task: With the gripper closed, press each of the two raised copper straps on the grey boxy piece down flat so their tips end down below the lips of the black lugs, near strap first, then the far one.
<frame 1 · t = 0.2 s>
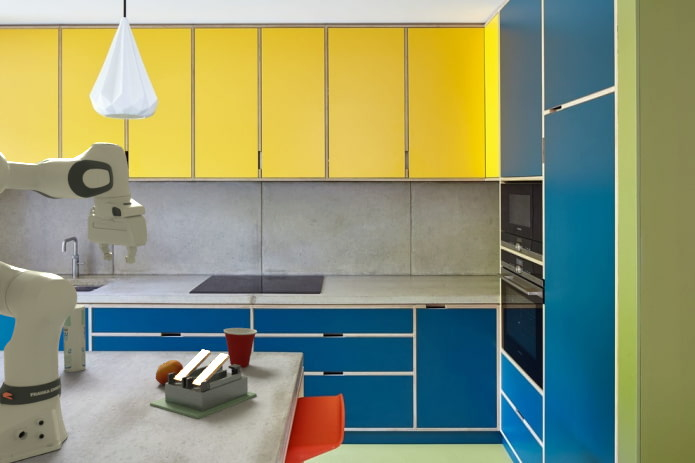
hand: (119, 261, 164), 39 cm above the kitchen island, tool pointing down, fingers open, 8 cm apart
fruit: (169, 384, 191), on the kitchen island
strap near: (211, 370, 172), point 9 cm above the kitchen island, hinge at 28.0°
strap far: (192, 366, 176), point 9 cm above the kitchen island, hinge at 28.0°
board: (205, 400, 176), on the kitchen island
plastic cup: (240, 366, 210), on the kitchen island
grey boxy piece: (207, 383, 176), on the board, point 4 cm above the kitchen island
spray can: (75, 369, 205), on the kitchen island
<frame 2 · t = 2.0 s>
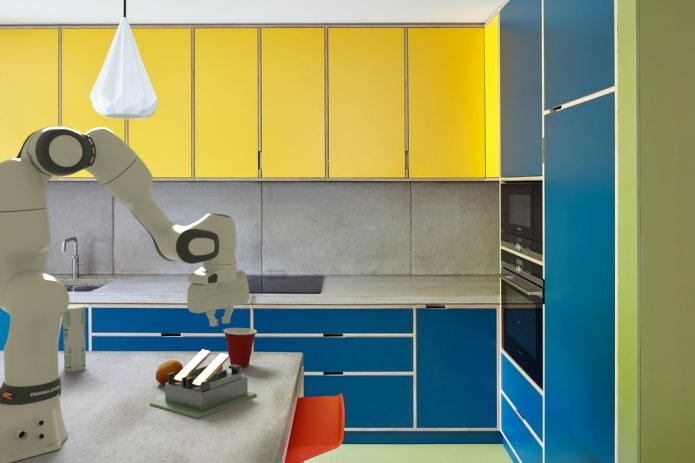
hand: (219, 324, 174), 21 cm above the kitchen island, tool pointing down, fingers open, 3 cm apart
nothing on the kitchen island moved.
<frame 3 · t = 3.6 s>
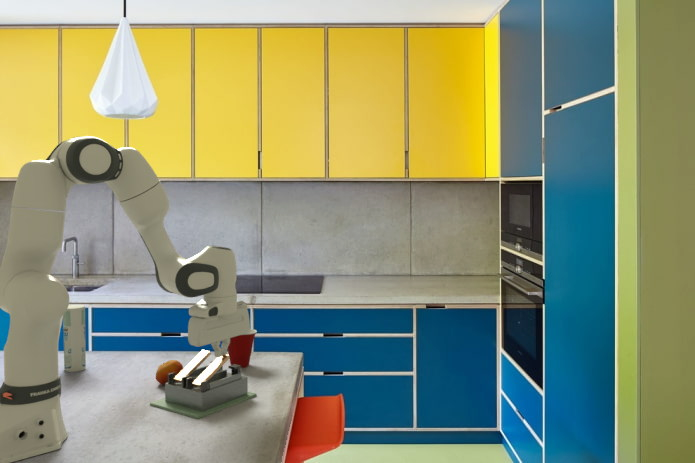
hand: (220, 355, 175), 12 cm above the kitchen island, tool pointing down, fingers closed
strap near: (211, 370, 172), point 9 cm above the kitchen island, hinge at 27.3°, touching gripper
everything else where it was.
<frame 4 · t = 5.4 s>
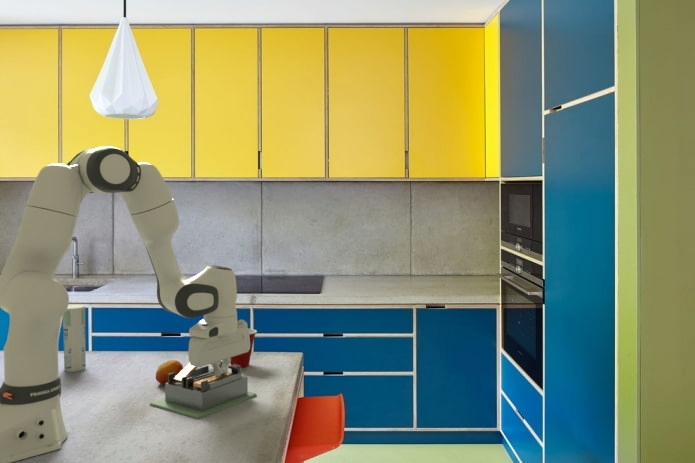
hand: (221, 375, 175), 7 cm above the kitchen island, tool pointing down, fingers closed, pressing on strap near
strap near: (213, 379, 173), point 7 cm above the kitchen island, hinge at -0.1°, touching gripper
everything else where it was.
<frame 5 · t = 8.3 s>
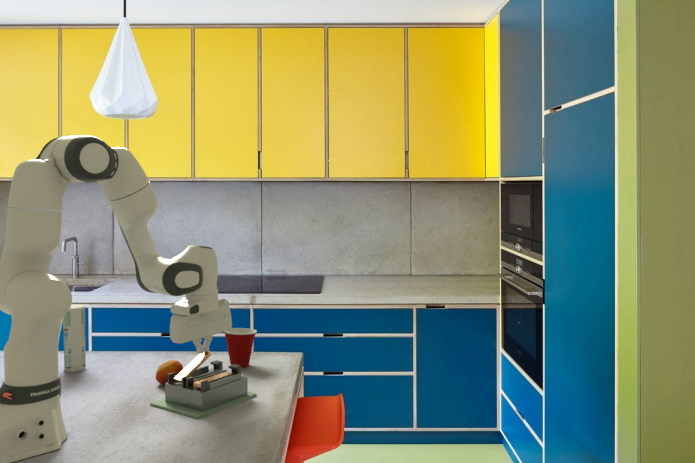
hand: (202, 352, 179), 12 cm above the kitchen island, tool pointing down, fingers closed
strap near: (213, 379, 173), point 7 cm above the kitchen island, hinge at -0.1°
strap far: (192, 366, 176), point 9 cm above the kitchen island, hinge at 26.2°, touching gripper
everything else where it was.
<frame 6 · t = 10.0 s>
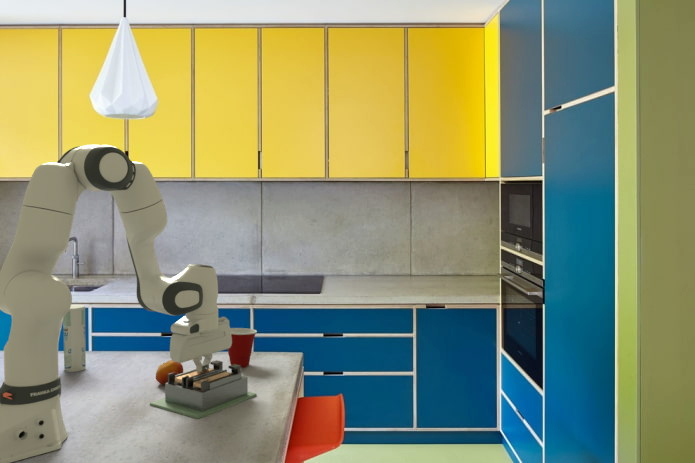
hand: (202, 371, 179), 7 cm above the kitchen island, tool pointing down, fingers closed, pressing on strap far
strap far: (195, 375, 177), point 7 cm above the kitchen island, hinge at -0.1°, touching gripper
everything else where it was.
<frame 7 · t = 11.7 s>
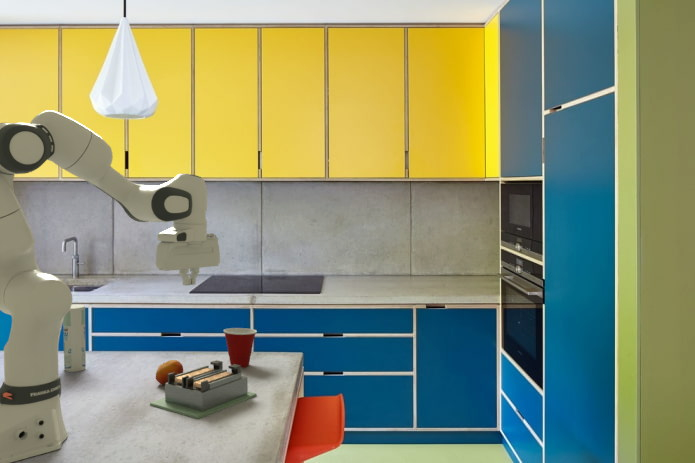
hand: (189, 284, 176), 31 cm above the kitchen island, tool pointing down, fingers closed
strap far: (195, 375, 177), point 7 cm above the kitchen island, hinge at -0.1°
everything else where it was.
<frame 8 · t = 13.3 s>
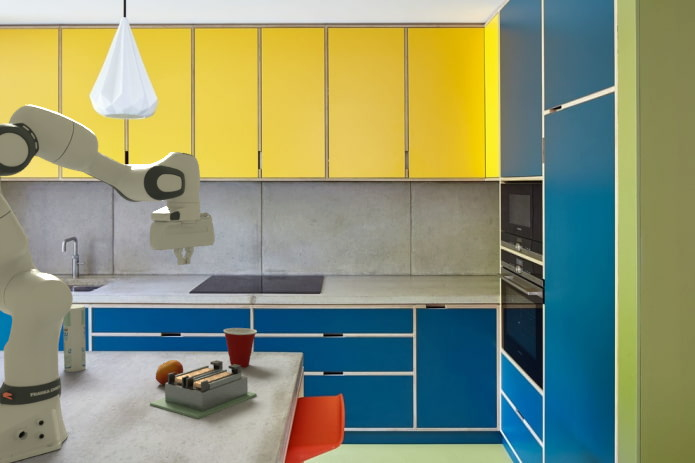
hand: (184, 264, 175), 37 cm above the kitchen island, tool pointing down, fingers closed
nothing on the kitchen island moved.
at the end: strap near at +0° (first picture: +28°); strap far at +0° (first picture: +28°) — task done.
